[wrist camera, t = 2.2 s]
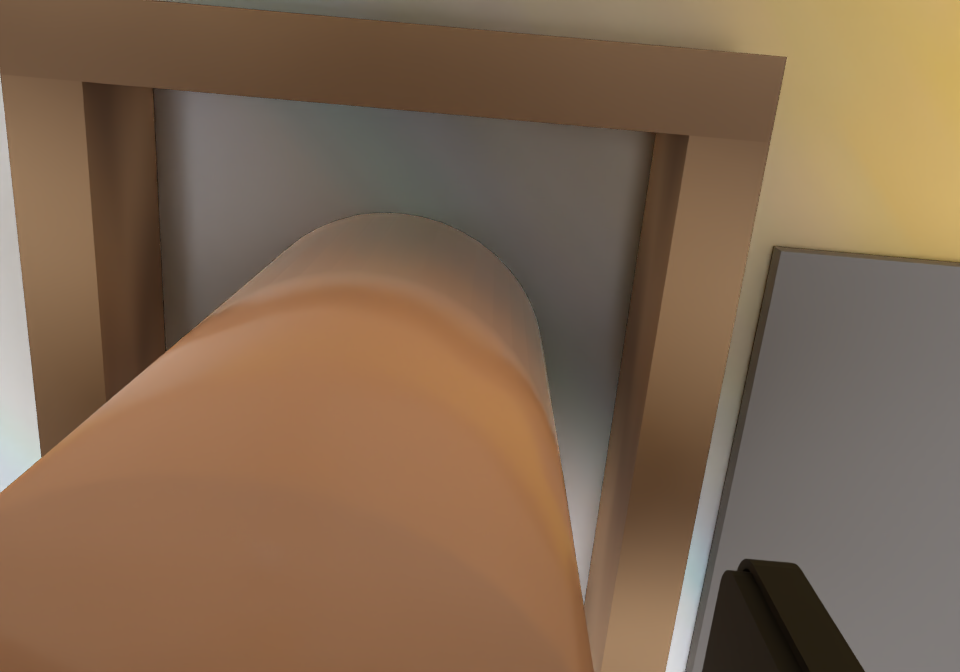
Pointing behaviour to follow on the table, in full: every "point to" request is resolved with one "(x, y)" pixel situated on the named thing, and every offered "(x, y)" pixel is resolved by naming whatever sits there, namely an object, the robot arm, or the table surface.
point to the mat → (853, 453)
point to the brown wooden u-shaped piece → (413, 87)
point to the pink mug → (313, 482)
